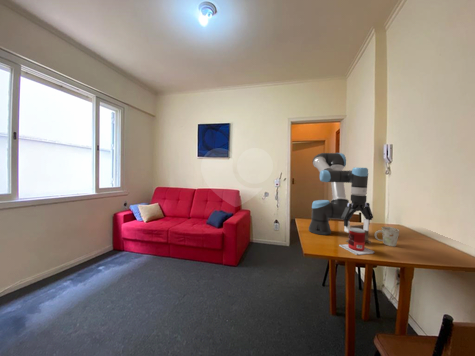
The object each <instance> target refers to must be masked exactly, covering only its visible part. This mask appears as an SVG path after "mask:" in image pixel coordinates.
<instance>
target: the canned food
mask: <svg viewBox="0 0 475 356" xmlns="http://www.w3.org/2000/svg"><path fill="white" fill-rule="evenodd" d="M348 240H349V241H348V242H347V244H348V246H349V248H350V249H352V250H356V251H363V250H364V247H365V248H366V246H365V245H366V244H365V243H366V242H365V230H363V229H360V228H349V233H348Z"/></svg>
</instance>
